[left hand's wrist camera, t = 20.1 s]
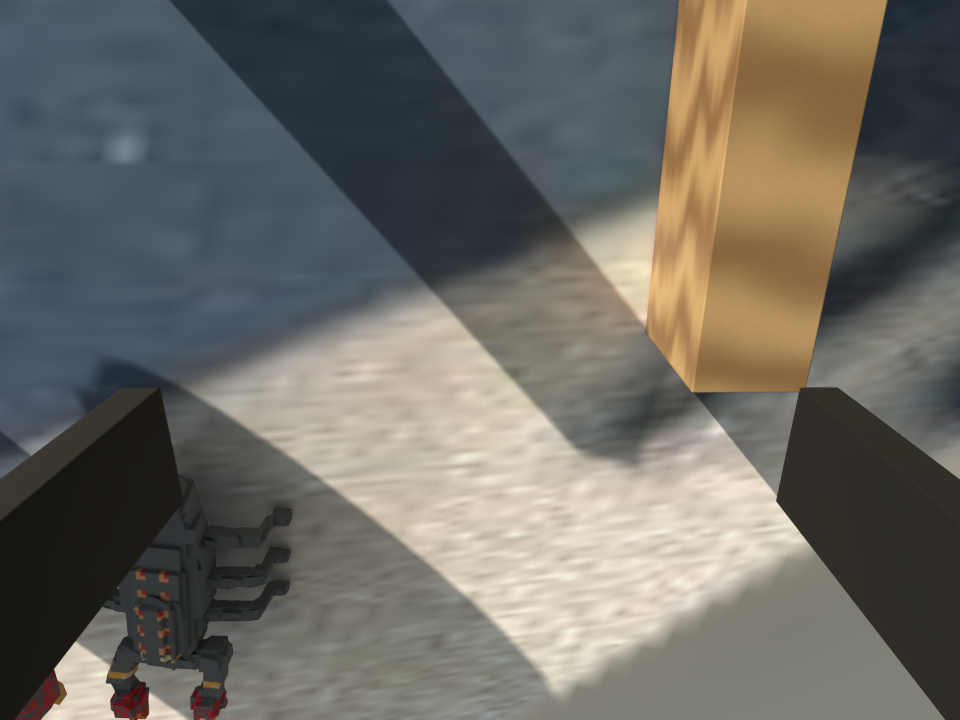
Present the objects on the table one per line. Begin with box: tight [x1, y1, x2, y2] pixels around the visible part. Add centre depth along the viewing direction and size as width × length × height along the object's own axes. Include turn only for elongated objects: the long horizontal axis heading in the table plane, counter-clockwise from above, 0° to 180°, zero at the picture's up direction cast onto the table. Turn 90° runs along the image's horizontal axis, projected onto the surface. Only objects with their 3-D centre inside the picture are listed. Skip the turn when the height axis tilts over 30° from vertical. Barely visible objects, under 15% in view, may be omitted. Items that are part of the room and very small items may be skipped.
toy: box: [15, 474, 292, 720], centre depth 35 cm, size 13×27×18 cm, turn 172°
